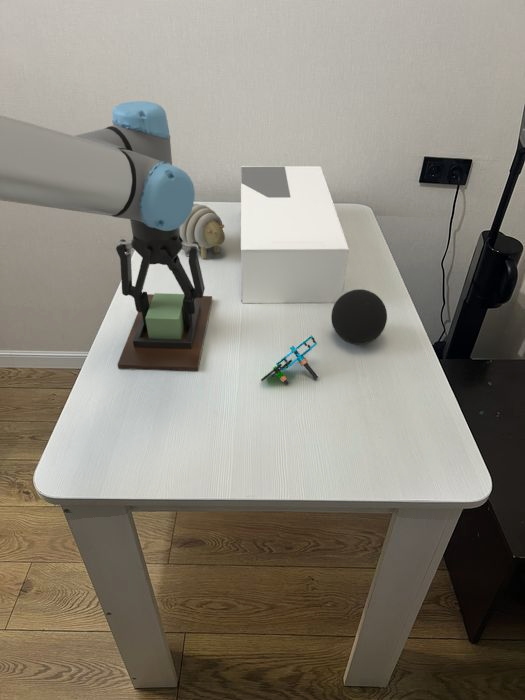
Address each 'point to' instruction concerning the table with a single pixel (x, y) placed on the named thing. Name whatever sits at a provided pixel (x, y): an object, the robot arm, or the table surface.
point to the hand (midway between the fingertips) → (168, 325)
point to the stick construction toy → (300, 359)
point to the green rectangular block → (166, 316)
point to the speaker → (359, 316)
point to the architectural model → (290, 237)
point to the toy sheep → (203, 229)
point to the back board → (167, 344)
